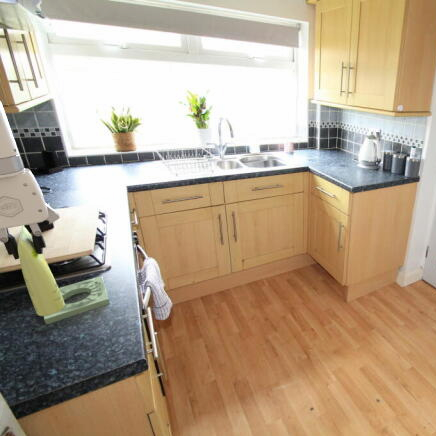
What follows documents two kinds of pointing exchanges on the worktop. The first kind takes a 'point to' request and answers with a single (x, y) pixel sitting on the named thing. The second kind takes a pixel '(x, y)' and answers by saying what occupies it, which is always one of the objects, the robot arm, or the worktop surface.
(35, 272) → the yellow-green tapered cone
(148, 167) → the worktop surface
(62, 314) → the base pad
